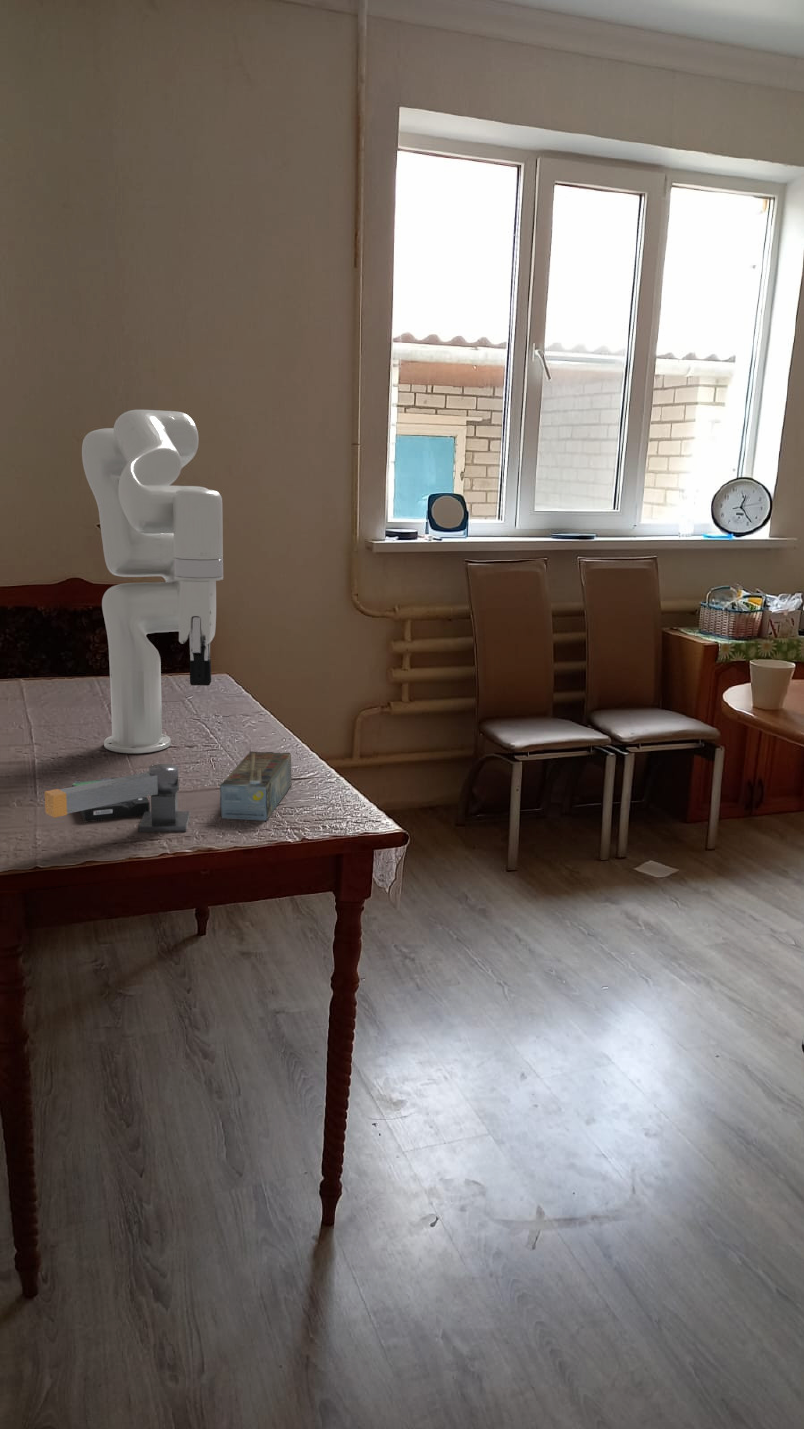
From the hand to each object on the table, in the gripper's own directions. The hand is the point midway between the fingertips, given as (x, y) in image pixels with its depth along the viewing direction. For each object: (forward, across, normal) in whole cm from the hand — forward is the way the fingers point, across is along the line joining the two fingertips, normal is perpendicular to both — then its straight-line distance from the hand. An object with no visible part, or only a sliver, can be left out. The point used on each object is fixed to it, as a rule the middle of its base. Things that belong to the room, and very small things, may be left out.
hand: (200, 684), depth 169 cm
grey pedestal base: (+20, +11, -5) cm, 23 cm away
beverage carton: (+20, -1, +9) cm, 22 cm away
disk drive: (+21, +1, -15) cm, 25 cm away
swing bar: (+15, +16, -11) cm, 24 cm away
